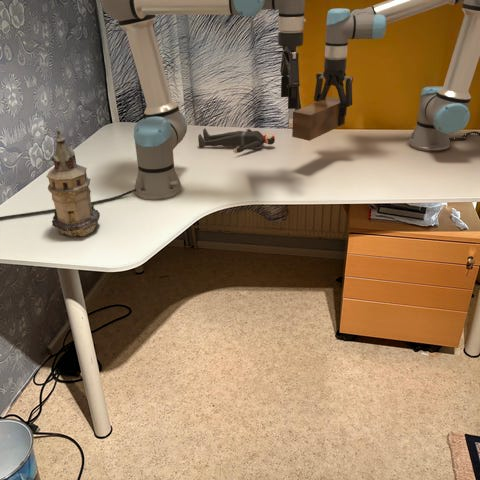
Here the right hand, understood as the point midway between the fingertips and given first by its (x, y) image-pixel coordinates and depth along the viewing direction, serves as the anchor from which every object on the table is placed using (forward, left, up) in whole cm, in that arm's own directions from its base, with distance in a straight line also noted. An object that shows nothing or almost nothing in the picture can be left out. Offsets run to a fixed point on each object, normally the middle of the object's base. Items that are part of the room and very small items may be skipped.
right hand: (331, 122), depth 195 cm
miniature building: (+96, -13, -14) cm, 98 cm away
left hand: (+28, +5, +14) cm, 31 cm away
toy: (+16, -34, -14) cm, 40 cm away
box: (+8, +1, -1) cm, 8 cm away
